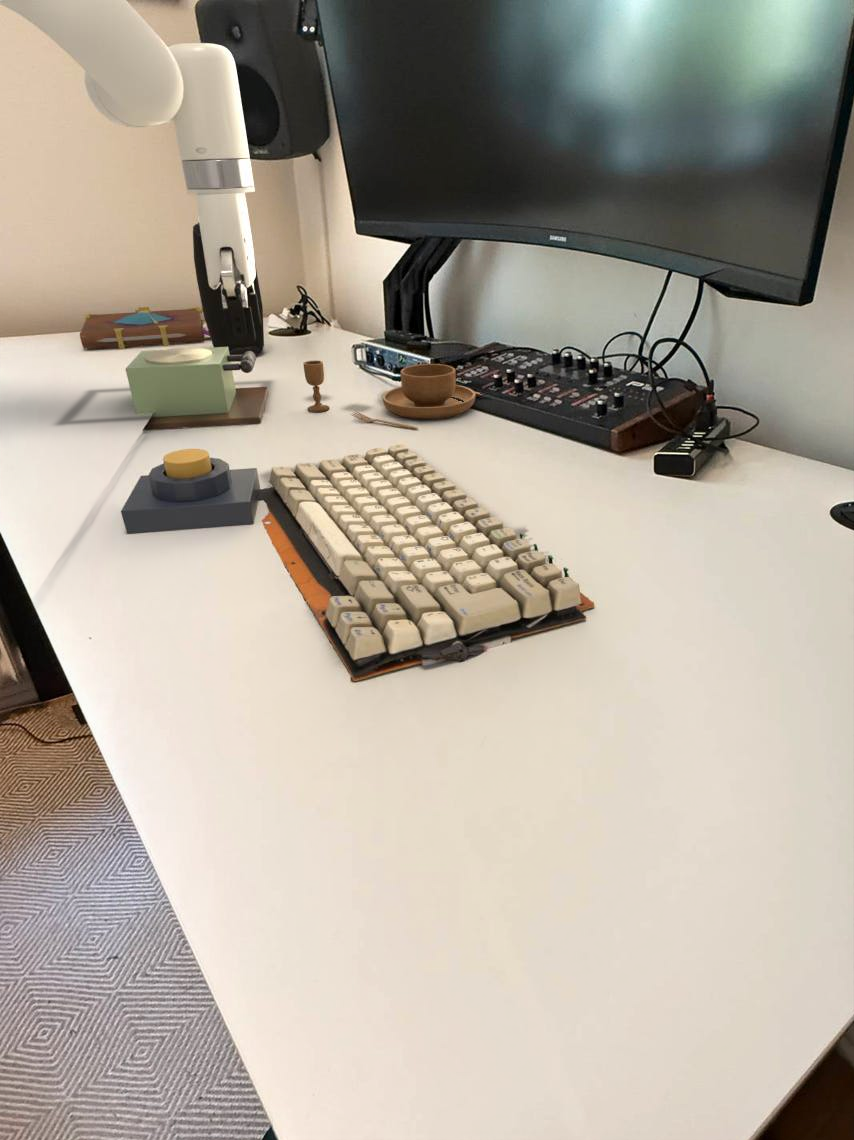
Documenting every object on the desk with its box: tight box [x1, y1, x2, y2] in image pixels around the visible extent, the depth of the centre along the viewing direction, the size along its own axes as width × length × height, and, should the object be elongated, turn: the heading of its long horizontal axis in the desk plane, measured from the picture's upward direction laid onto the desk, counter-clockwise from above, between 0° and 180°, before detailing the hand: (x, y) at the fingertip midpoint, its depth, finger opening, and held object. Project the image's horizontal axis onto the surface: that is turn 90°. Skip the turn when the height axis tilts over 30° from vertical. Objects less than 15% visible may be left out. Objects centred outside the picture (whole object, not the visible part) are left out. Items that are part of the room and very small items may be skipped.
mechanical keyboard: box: [258, 443, 595, 682], centre depth 67 cm, size 38×19×3 cm, turn 26°
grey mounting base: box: [120, 457, 261, 535], centre depth 74 cm, size 11×9×4 cm
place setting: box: [302, 359, 482, 430], centre depth 104 cm, size 18×20×6 cm
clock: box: [125, 346, 257, 418], centre depth 102 cm, size 6×10×15 cm
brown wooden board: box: [142, 386, 269, 431], centre depth 104 cm, size 23×15×1 cm, turn 99°
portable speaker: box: [192, 222, 265, 358], centre depth 127 cm, size 9×9×20 cm
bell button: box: [162, 448, 212, 479], centre depth 73 cm, size 4×4×2 cm
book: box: [79, 306, 210, 350], centre depth 144 cm, size 16×25×5 cm, turn 107°
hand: (246, 335), depth 100 cm, fingers open, 9 cm apart
